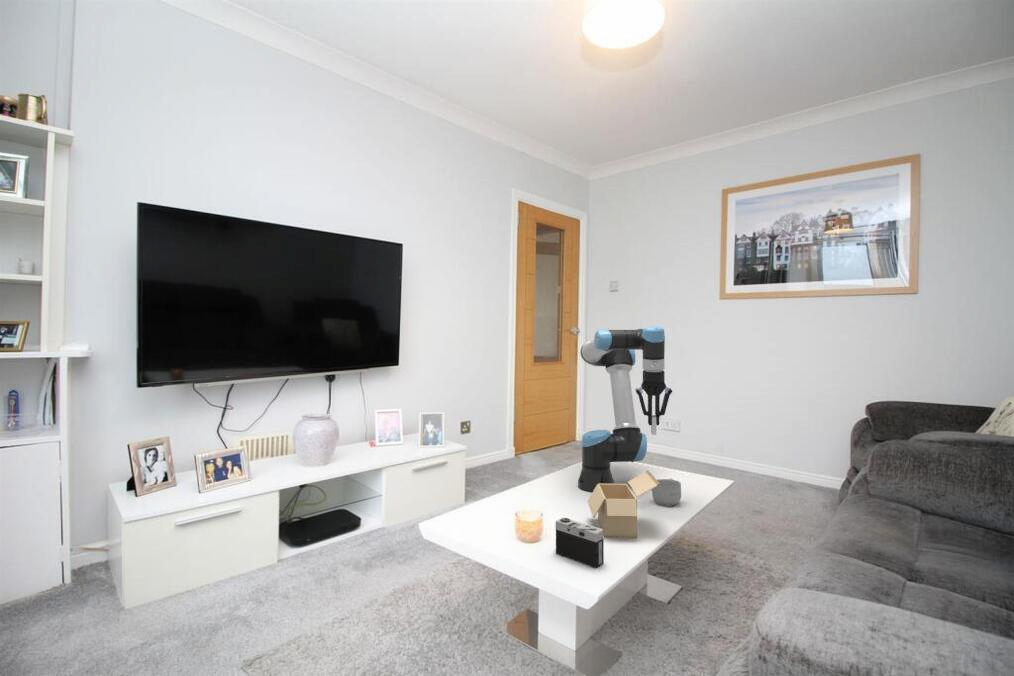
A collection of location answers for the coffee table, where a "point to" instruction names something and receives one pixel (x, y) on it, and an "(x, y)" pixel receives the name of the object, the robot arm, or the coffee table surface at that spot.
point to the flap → (643, 483)
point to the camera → (580, 542)
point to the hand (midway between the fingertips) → (653, 433)
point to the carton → (615, 510)
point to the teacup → (667, 492)
